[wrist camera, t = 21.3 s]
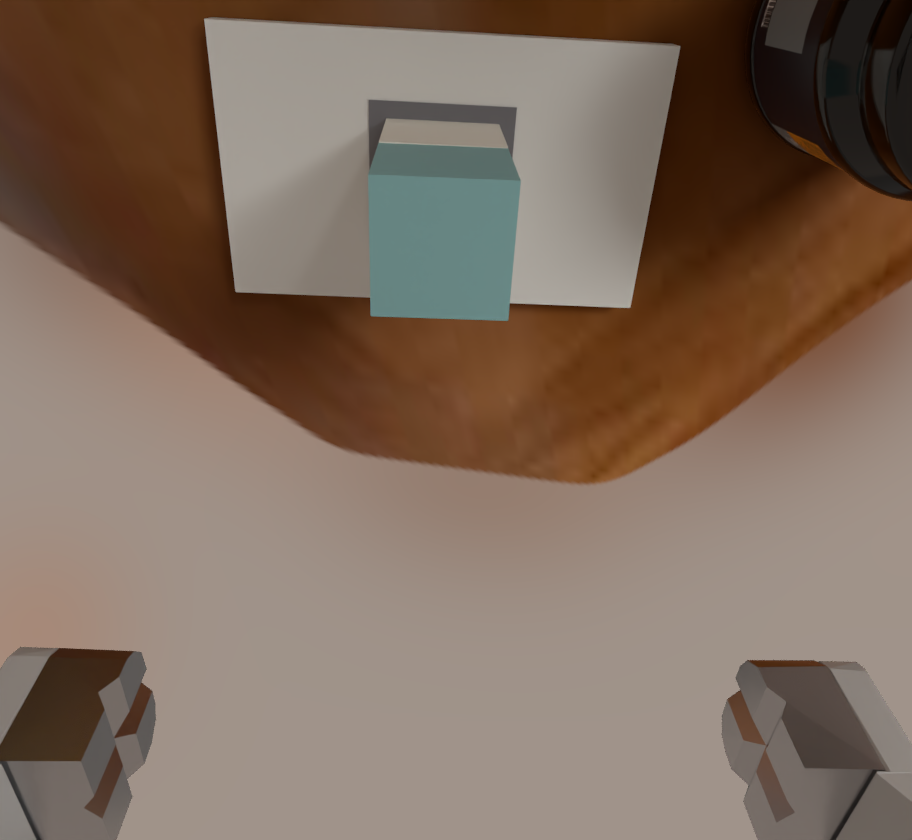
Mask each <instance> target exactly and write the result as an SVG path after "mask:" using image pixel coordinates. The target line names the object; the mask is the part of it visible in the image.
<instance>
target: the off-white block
mask: <svg viewBox="0 0 912 840" xmlns="http://www.w3.org/2000/svg"><path fill="white" fill-rule="evenodd" d="M379 143H395V144H418V145H441V146H464V147H487V148H508V146H507V143H506V140H505V138H504V135H503V133H502V130H501V128H500V125H499V124H487V123H467V122H448V121H429V120H409V119H390V118H386V121H385V124H384V127H383V130H382V133H381V136H380V139H379Z"/></svg>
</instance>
